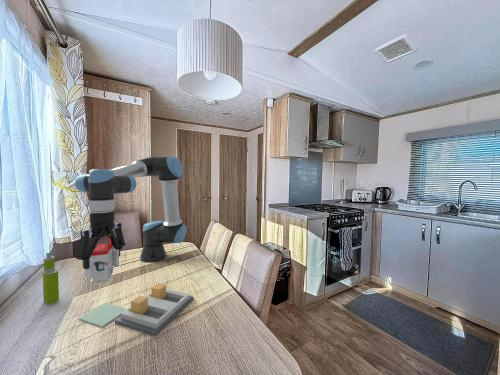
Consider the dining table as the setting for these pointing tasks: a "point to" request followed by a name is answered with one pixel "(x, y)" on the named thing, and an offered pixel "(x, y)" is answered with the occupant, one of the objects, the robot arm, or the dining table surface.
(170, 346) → the dining table surface
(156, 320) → the grey divided tray
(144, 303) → the light orange block
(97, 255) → the ink box
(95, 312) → the rest pad
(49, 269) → the vape
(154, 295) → the tan block
